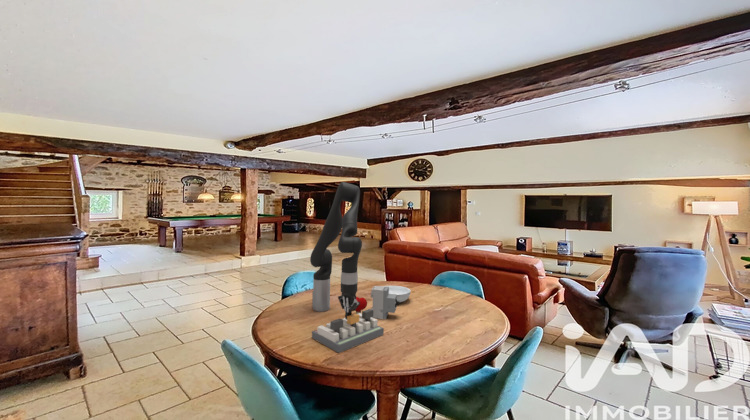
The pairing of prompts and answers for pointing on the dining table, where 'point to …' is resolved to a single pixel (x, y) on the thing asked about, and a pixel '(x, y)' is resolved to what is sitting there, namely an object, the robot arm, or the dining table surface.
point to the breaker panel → (350, 343)
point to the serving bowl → (400, 292)
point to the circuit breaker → (383, 302)
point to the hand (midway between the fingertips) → (348, 319)
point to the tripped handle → (353, 320)
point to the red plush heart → (361, 304)
